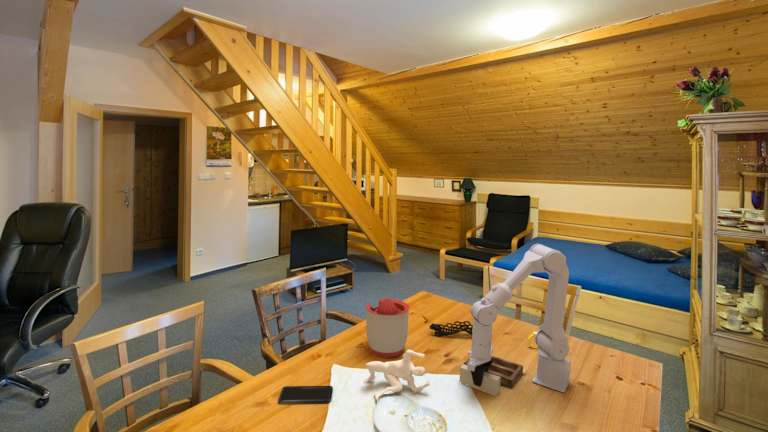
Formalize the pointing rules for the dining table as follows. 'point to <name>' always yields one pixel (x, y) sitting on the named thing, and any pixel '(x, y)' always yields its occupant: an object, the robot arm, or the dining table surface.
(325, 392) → the phone
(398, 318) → the citrus juicer
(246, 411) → the dining table surface
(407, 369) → the person figurine
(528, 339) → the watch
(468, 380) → the clay strip
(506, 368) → the rack
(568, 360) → the robot arm
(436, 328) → the decorative element
